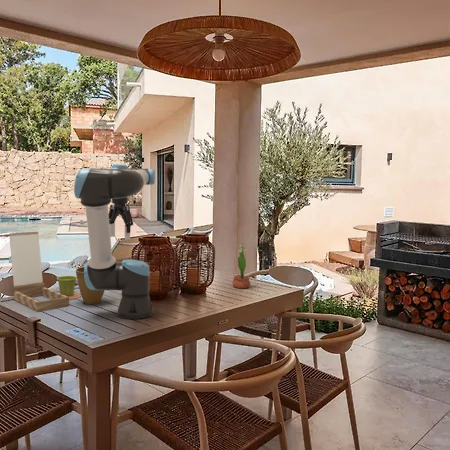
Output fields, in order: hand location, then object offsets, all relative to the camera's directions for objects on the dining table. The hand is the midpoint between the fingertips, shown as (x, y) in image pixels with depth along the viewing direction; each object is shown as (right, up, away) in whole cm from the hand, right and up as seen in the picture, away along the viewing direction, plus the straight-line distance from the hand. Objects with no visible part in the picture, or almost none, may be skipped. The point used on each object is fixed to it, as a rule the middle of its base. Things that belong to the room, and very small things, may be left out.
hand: (119, 238), depth 226 cm
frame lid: (-43, -10, -7) cm, 45 cm away
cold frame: (-33, -30, -16) cm, 47 cm away
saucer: (-25, -29, -5) cm, 38 cm away
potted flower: (+62, -28, +26) cm, 73 cm away
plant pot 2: (-10, -30, -14) cm, 34 cm away
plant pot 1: (-25, -28, -5) cm, 38 cm away
